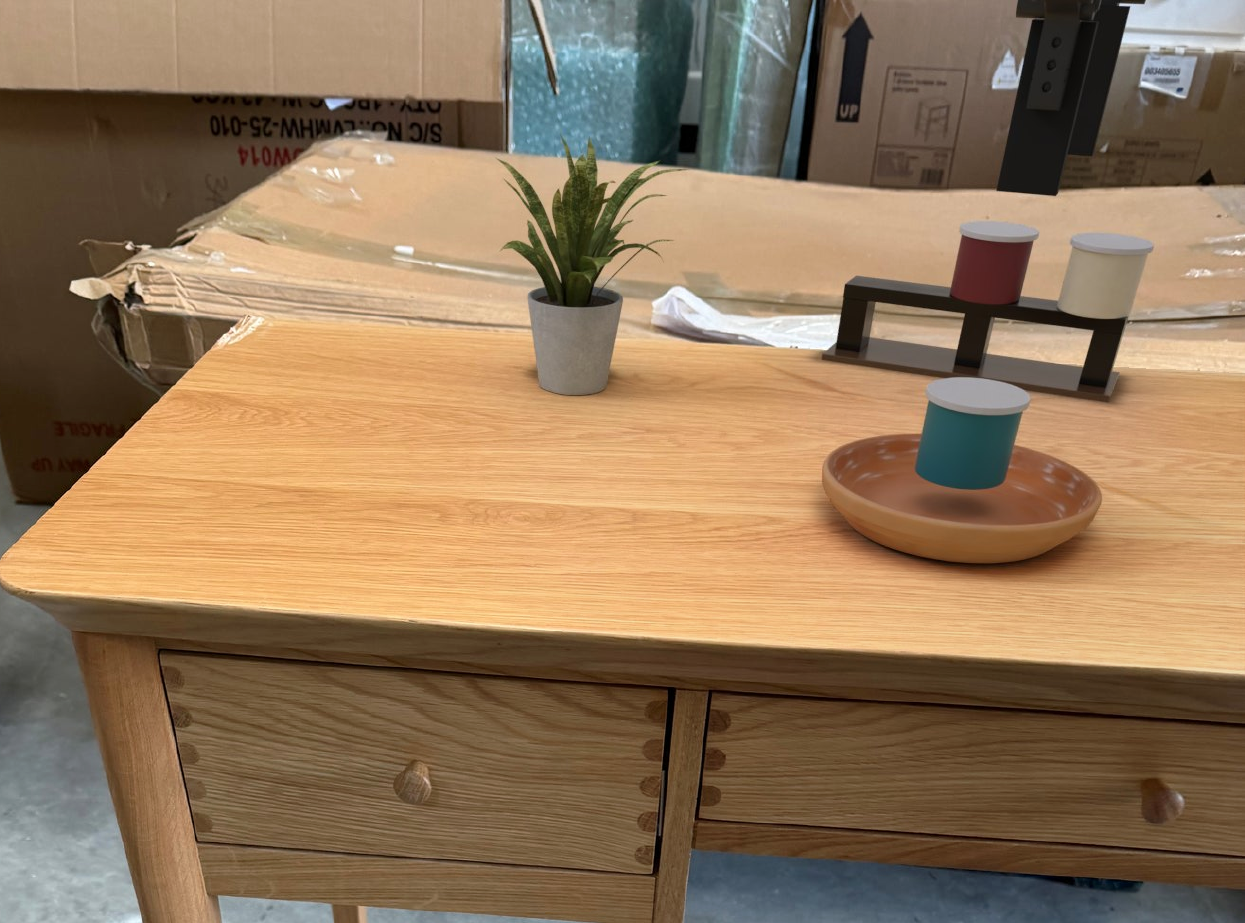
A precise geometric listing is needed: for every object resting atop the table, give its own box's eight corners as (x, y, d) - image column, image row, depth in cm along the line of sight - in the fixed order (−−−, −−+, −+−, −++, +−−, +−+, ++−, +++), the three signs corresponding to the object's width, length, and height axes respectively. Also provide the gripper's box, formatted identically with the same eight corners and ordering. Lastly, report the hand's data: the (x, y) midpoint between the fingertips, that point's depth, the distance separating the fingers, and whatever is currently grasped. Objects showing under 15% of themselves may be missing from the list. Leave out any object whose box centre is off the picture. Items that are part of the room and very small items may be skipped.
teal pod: (1030, 480, 70) (1052, 397, 67) (964, 498, 68) (984, 414, 65) (955, 451, 74) (973, 371, 71) (889, 467, 71) (905, 386, 68)
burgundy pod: (1038, 300, 92) (1055, 231, 89) (988, 309, 89) (1004, 239, 86) (980, 284, 95) (994, 218, 92) (930, 292, 93) (944, 225, 90)
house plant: (709, 408, 89) (735, 148, 78) (533, 426, 85) (536, 154, 74) (630, 356, 99) (643, 119, 88) (470, 370, 95) (464, 123, 84)
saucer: (861, 460, 81) (869, 414, 79) (1108, 507, 75) (1123, 459, 73) (777, 541, 70) (784, 490, 68) (1059, 604, 64) (1075, 550, 62)
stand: (1104, 412, 90) (1130, 326, 86) (820, 369, 97) (832, 287, 93) (1115, 388, 95) (1140, 305, 91) (843, 348, 102) (855, 270, 98)
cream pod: (1149, 313, 89) (1171, 244, 86) (1101, 323, 87) (1122, 252, 84) (1085, 297, 93) (1103, 229, 90) (1037, 306, 90) (1054, 237, 87)
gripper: (1125, -387, 58) (1014, 135, 71) (1047, -522, 40) (920, 204, 54) (1297, -399, 55) (1148, 145, 69) (1294, -547, 38) (1096, 220, 51)
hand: (1048, 172), depth 61 cm, fingers open, 13 cm apart
